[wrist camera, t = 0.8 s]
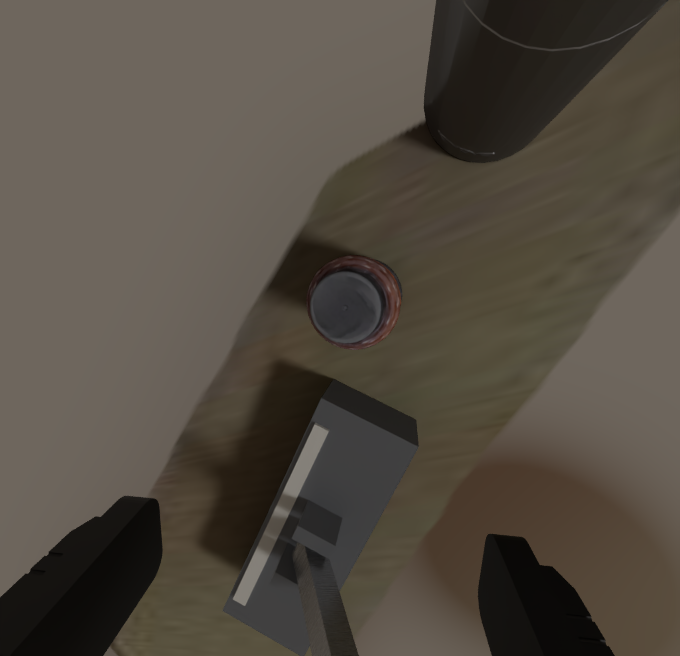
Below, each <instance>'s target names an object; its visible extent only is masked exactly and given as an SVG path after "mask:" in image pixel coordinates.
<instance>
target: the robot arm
mask: <svg viewBox="0 0 680 656" xmlns="http://www.w3.org/2000/svg"><path fill="white" fill-rule="evenodd" d="M667 1H668V0H436V7H435V15H434V23H433V31H432V39H431V47H430V55H429V62H428V70H427V78H426V86H425V95H424V112H425V118H426V122H427V125H428V128H429V130H430V133H431V134H432V136H433V137H434V139H435V140H436V142H437V143H438V144H439V145H440V146H441V147H442V148H443V149H444V150H445V151H446V152H448V153H449V154H451V155H453V156H455V157H457V158H458V159H462V160H465V161H469V162H479V163H486V162H492V161H498V160H501V159H503V158H506V157H509V156H511V155H513V154H515V153H516V152H518V151H520V150H521V149H523V148H524V147H525V146H526V145H527V144H529V143H530V142H531V141H532V140H533V139H534V138H535V137H536V136H537V135H538V134H539V133H540V132H541V131H542V130H543V129H544V128H545V127H546V126H547V125H548V124H549V123H550V122H551V121H552V120H553V119H554V118H555V117H556V116H557V115H558V114H559V113H560V112H561V111H562V110H563V109H564V108H565V107H566V106H567V105H568V104H569V103H570V102H571V100H572V99H573V98H574V97H575V96H576V95H577V94H578V93H579V92H580V91H581V90H582V89H583V88H584V87H585V86H586V85H587V84H588V83H589V82H590V81H591V80H592V79H593V78H594V77H595V76H596V75H597V74H598V73H599V72H600V71H601V70H602V69H603V67H604V66H605V65H606V64H607V63H608V62H609V61H610V60H611V59H612V58H613V57H614V56H615V55H616V54H617V53H618V52H619V51H620V50H621V49H622V48H623V47H624V46H625V45H626V44H627V43H628V42H629V41H630V40H631V39H632V38H633V37H634V36H635V34H636V33H637V32H638V31H639V30H640V29H641V28H642V27H643V26H644V25H645V24H646V23H647V22H648V21H649V20H650V19H651V18H652V17H653V16H654V15H655V14H656V13H657V12H658V11H659V10H660V9H661V8H662V7H663V6H664V5H665V3H666V2H667ZM161 559H162V536H161V523H160V510H159V503H158V501H157V500H156V499H153V498H143V497H133V496H124V497H122V498H120V499H119V500H118V501H117V502H116V503H115V504H114V505H113V506H112V507H111V508H110V509H109V510H107V511H106V513H104V515H102V516H101V517H94V518H92V519H91V520H89V521H87V522H86V523H84V524H83V525H81V526H79V527H78V528H76V529H74V530H73V531H71V532H70V533H69V534H68V535H66V536H65V537H64V538H63V539H62V540H61V541H60V542H59V543H58V544H57V545H56V546H55V547H54V548H53V549H51V550H50V551H49V554H48V555H47V556H44V557H43V558H42V559H41V560H40V561H39V562H38V563H37V564H35V565H34V566H33V567H32V568H31V570H30V572H29V573H28V574H25V575H24V576H23V577H22V578H20V579H19V580H18V581H17V582H16V583H15V584H14V585H13V586H12V587H11V588H10V589H9V590H8V591H7V592H6V593H4V594H3V595H2V596H1V597H0V656H103V655H104V654H105V652H106V651H107V649H108V648H109V646H110V645H111V643H112V642H113V640H114V639H115V637H116V636H117V634H118V633H119V631H120V630H121V628H122V627H123V625H124V624H125V622H126V621H127V619H128V618H129V616H130V615H131V613H132V612H133V610H134V609H135V607H136V605H137V604H138V602H139V601H140V599H141V598H142V596H143V595H144V593H145V592H146V590H147V589H148V587H149V586H150V584H151V583H152V581H153V580H154V578H155V576H156V574H157V572H158V569H159V566H160V563H161ZM478 600H479V609H480V616H481V620H482V624H483V627H484V630H485V634H486V637H487V640H488V644H489V647H490V651H491V654H492V656H615V655H614V654H613V652H612V650H611V649H610V647H609V646H607V645H606V643H605V639H604V637H603V635H602V634H601V632H600V630H599V629H598V627H597V625H596V624H595V622H592V619H591V615H590V613H589V612H588V610H587V608H586V607H585V605H584V603H583V602H582V600H581V598H580V597H579V595H578V593H577V592H576V590H575V589H574V588H573V587H572V586H571V585H570V584H569V583H568V582H567V581H566V580H565V579H564V578H563V577H562V576H561V575H560V574H559V573H558V572H557V571H556V570H555V569H554V568H553V567H551V566H542V565H539V563H538V561H537V559H536V557H535V555H534V554H533V551H532V550H531V548H530V546H529V544H528V542H527V541H526V540H525V539H524V538H523V537H516V536H507V535H497V534H488V535H487V537H486V541H485V547H484V554H483V560H482V567H481V573H480V580H479V587H478Z"/></svg>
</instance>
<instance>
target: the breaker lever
mask: <svg viewBox="0 0 680 656" xmlns="http://www.w3.org/2000/svg"><path fill="white" fill-rule="evenodd" d="M292 558H293V563H294V568H295V573H296V577H297V582H298V587H299V592H300V597H301V602H302V607H303V612H304V617H305V622H306V627H307V632H308V637H309V642H310V647H311V652H312V656H359V655H358V652H357V648H356V645H355V642H354V639H353V635H352V632H351V629H350V625H349V622H348V619H347V615H346V612H345V609H344V605H343V602H342V599H341V595H340V592H339V589H338V585H337V582H336V579H335V575H334V572H333V569H332V566H331V562H330V559H328V558H326V557H324V556H322V555H320V554H319V553H317V552H315V551H313V550H311V549H309V548H308V547H306V546H304V545H302V544H300V543H299V542H297V544H296V546H295V548H294V550H293V552H292Z"/></svg>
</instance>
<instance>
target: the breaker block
mask: <svg viewBox="0 0 680 656" xmlns="http://www.w3.org/2000/svg"><path fill="white" fill-rule="evenodd" d="M418 447H419V445H418V435H417V424H416V420H415V419H413V418H411V417H409V416H407V415H405V414H403V413H401V412H399V411H397V410H395V409H393V408H391V407H389V406H387V405H385V404H383V403H381V402H379V401H377V400H375V399H373V398H371V397H369V396H367V395H365V394H363V393H361V392H359V391H357V390H355V389H353V388H351V387H349V386H347V385H345V384H343V383H341V382H339V381H337V380H335V379H333V381H332V382H331V384H330V385H329V387H328V388H327V390H326V392H325V393H324V395H323V396H322V398H321V400H320V402H319V404H318V406H317V408H316V410H315V413H314V415H313V417H312V419H311V421H310V423H309V425H308V428H307V430H306V432H305V434H304V436H303V438H302V441H301V443H300V445H299V447H298V449H297V451H296V453H295V456H294V458H293V460H292V462H291V464H290V466H289V468H288V471H287V473H286V475H285V477H284V479H283V481H282V484H281V486H280V488H279V490H278V492H277V494H276V496H275V499H274V501H273V503H272V505H271V507H270V509H269V512H268V514H267V516H266V518H265V520H264V522H263V524H262V527H261V529H260V531H259V533H258V535H257V537H256V540H255V542H254V544H253V546H252V548H251V550H250V552H249V555H248V557H247V559H246V561H245V563H244V565H243V568H242V570H241V572H240V574H239V576H238V578H237V580H236V583H235V585H234V587H233V589H232V591H231V593H230V596H229V598H228V600H227V602H226V604H225V606H224V608H223V611H224V612H226V613H227V614H229V615H231V616H233V617H234V618H236V619H238V620H239V621H241V622H243V623H245V624H246V625H248V626H250V627H252V628H253V629H255V630H257V631H258V632H260V633H262V634H264V635H265V636H267V637H269V638H271V639H272V640H274V641H276V642H277V643H279V644H281V645H283V646H284V647H286V648H288V649H290V650H291V651H293V652H295V653H296V654H298V655H300V656H304V655H305V653H306V652H307V650H308V648H309V646H310V642H309V637H308V632H307V627H306V622H305V617H304V612H303V607H302V602H301V597H300V592H299V587H298V582H297V577H296V573H295V568H294V563H293V558H292V552H293V550H294V548H295V546H296V544H297V542H299V543H300V544H302V545H304V546H306V547H308V548H309V549H311V550H313V551H315V552H317V553H319V554H320V555H322V556H324V557H326V558H328V559H330V562H331V566H332V569H333V572H334V575H335V579H336V582H337V585H338V589H339V591H340V589H341V588H342V586H343V584H344V582H345V580H346V579H347V577H348V575H349V573H350V571H351V569H352V568H353V566H354V564H355V562H356V560H357V558H358V557H359V555H360V553H361V551H362V549H363V548H364V546H365V544H366V542H367V540H368V538H369V537H370V535H371V533H372V531H373V529H374V527H375V526H376V524H377V522H378V520H379V518H380V516H381V515H382V513H383V511H384V509H385V507H386V506H387V504H388V502H389V500H390V498H391V496H392V495H393V493H394V491H395V489H396V487H397V485H398V484H399V482H400V480H401V478H402V476H403V475H404V473H405V471H406V469H407V467H408V465H409V464H410V462H411V460H412V458H413V456H414V454H415V453H416V451H417V449H418Z"/></svg>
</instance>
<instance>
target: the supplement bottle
mask: <svg viewBox="0 0 680 656" xmlns="http://www.w3.org/2000/svg"><path fill="white" fill-rule="evenodd" d="M401 299H402V288H401V284H400V282H399V279H398V277H397V276H396V274H395V273H394V271H393V270H392V269H391V268H390V267H388V266H387V265H386V264H384V263H382V262H380V261H378V260H374V259H372V258H368V257H364V256H358V255H348V256H343V257H339V258H337V259H334V260H332V261H330V262H328V263H327V264H326V265H324V266H323V267H322V268H321V269H320V270H319V271H317V273H316V274H315V276H314V277H313V279H312V281H311V283H310V286H309V288H308V292H307V299H306V301H307V310H308V315H309V318H310V320H311V323H312V325H313V326H314V328H315V329H316V331H317V332H318V333H319V334H320V336H322V337H323V338H324V339H325V340H326V341H328V342H330V343H331V344H332V345H335V346H337V347H340V348H344V349H351V350H357V349H364V348H368V347H370V346H373V345H375V344H377V343H378V342H380V341H381V340H383V339H384V338H385V337H386V336H387V335H388V334H389V333H390V332H391V331H392V329H393V328H394V326H395V324H396V322H397V320H398V317H399V312H400V306H401Z"/></svg>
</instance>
